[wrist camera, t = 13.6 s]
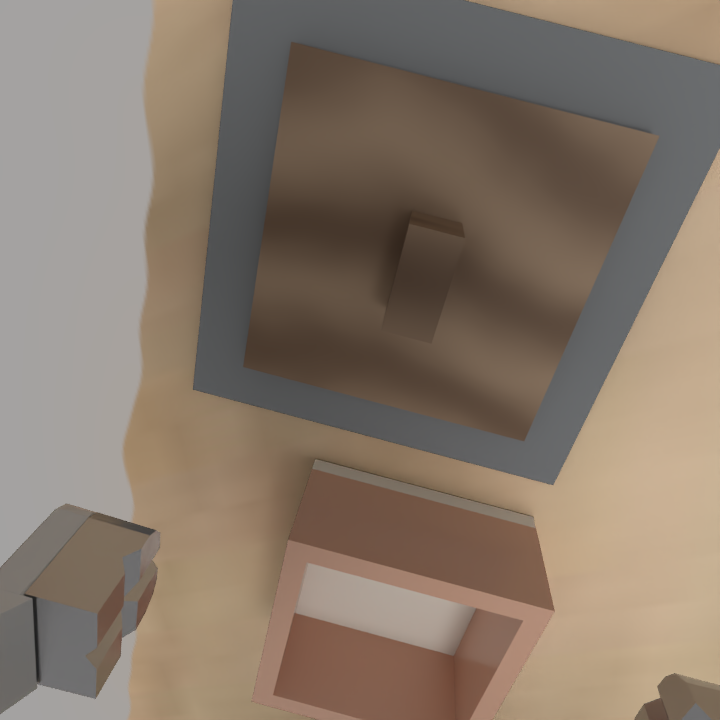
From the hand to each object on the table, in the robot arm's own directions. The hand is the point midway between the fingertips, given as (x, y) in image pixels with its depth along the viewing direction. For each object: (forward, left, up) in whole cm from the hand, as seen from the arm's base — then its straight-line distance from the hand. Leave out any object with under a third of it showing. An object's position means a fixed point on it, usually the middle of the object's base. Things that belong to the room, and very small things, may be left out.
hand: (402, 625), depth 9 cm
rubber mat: (0, 0, -22) cm, 22 cm away
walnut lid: (0, 0, -21) cm, 21 cm away
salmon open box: (-21, -4, -22) cm, 30 cm away
